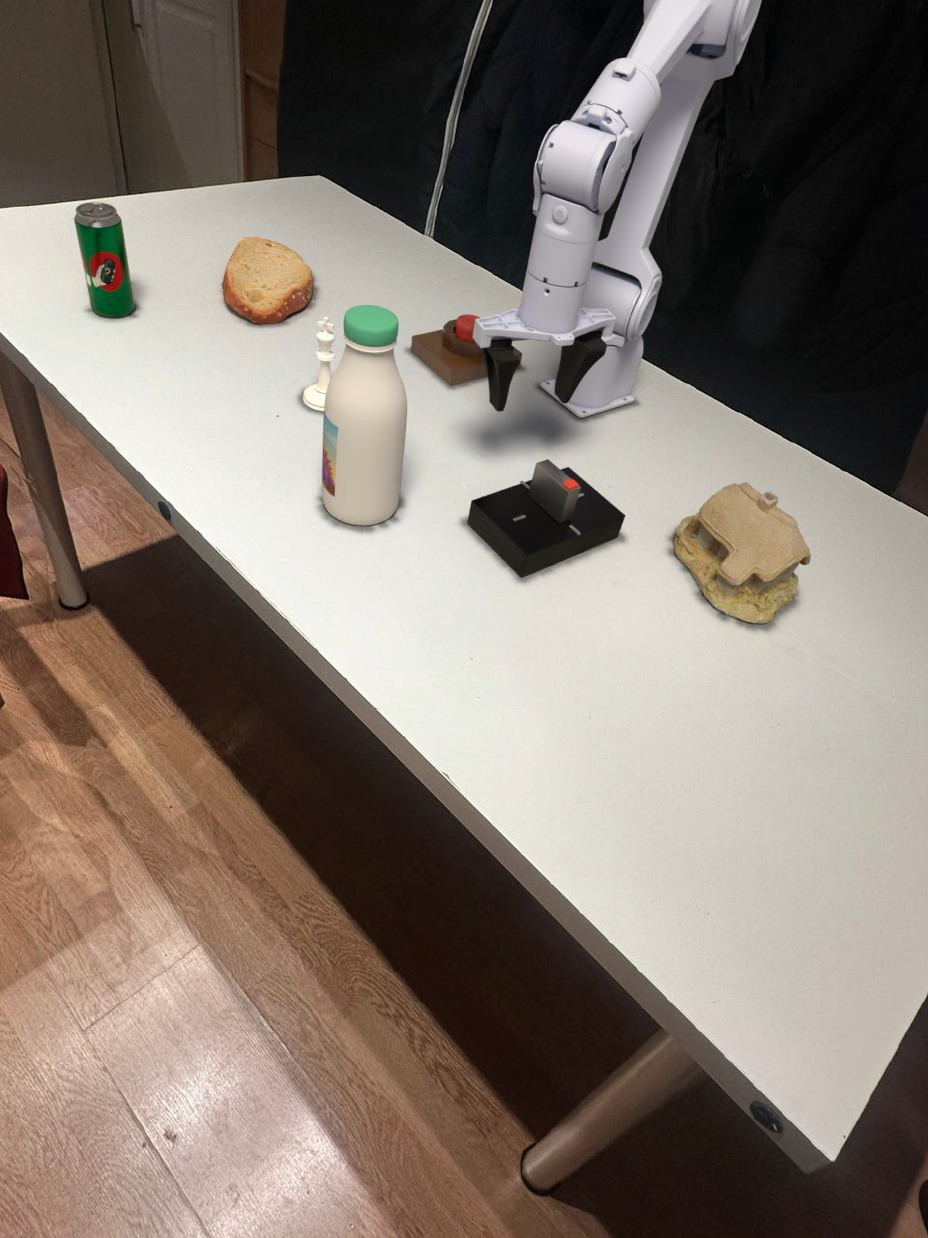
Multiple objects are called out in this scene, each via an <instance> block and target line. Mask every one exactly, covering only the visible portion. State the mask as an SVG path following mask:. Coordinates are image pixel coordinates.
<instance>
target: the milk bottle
mask: <svg viewBox="0 0 928 1238" xmlns="http://www.w3.org/2000/svg"><path fill="white" fill-rule="evenodd" d="M399 325H400V324H399V318H398V316H397V315H396V314H395V313H394V312H393V311H391V310H390V309H388V308H386V307H382V306H379V305H374V304H360V305H355V306H352V307H350V308H349V309H347V310H346V311H345V314H344V316H343V335H342V339H343V341H344V343H345V347H344V349H343V353H342V356H341V359H340V361H339V363H338V364H337V367H336V368H335V370H334V372H333V374H331V379H330V382H329V385H328V388H327V391H326V396H325V403H324V411H323V419H322V420H323V421H322V423H323V424H322V454H321V455H322V458H321V460H322V464H321V500H322V504H323V505H324V508H325V509H326V510H327V512H328V513H329V514H330V515H331V516H332V517H333V518H334V519H337V520H338V521H341V522H343V523H346V524H349V525H355V526H371V525H377V524H380V523H383V522H385V521H387V520H388V519H390V518H391V517H392V516H393V515H394V514H395V512H396V511H397V509H398V506H399V501H400V495H401V486H402V478H403V477H402V475H403V467H404V457H405V446H406V436H407V423H408V398H407V392H406V388H405V384H404V382H403V379H402V375H401V374H400V372H399V369H398V366H397V361H396V357H395V353H394V352H395V349H394V348H396V346H397V344H398V334H399Z"/></svg>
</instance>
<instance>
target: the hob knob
mask: <svg viewBox="0 0 928 1238" xmlns="http://www.w3.org/2000/svg"><path fill="white" fill-rule="evenodd" d="M534 465H535V466H534V470H533V473H532V474H533V475H532V478H531V480H532V482H531V486H530V490H529V494H528V496H529V497H530V498H532V499H533V500H534V501H535V502H536V503H537V504H538V505H539V506H540V507H541V508H543V509H544V510H545V511H546V512H547V513H548V514H549V515H550V516H551V517H552V518H553V519H555V520H556V521H557V522H558V523H559V524H561V523H564V522H566V521H569V520H571V519H572V516H573V512H574V509H575V506H576V502H577V499H578V496H579V492H580V489H581V487H580V486H579V484H578V483H577V482H576V481H574V480H573V479H571V478H569V477H568V476H567V475H566V474H565V473H564V472H562V471H561V469H560V468H559V467H558V466H557V465H555V464H554V463H553V462H552V460H550V459H548V458H547V459H544V460H541V461H538V462H536V463H535V464H534Z"/></svg>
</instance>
